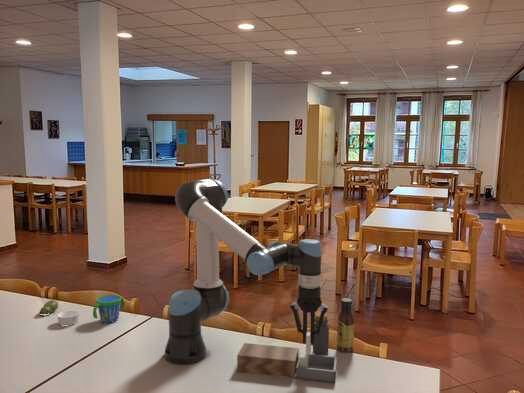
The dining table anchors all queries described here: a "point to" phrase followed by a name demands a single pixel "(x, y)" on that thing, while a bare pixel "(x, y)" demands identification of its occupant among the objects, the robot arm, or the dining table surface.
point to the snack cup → (108, 307)
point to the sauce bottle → (345, 327)
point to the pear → (49, 307)
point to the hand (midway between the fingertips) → (308, 352)
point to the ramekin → (68, 317)
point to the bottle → (321, 336)
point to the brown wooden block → (268, 360)
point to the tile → (304, 359)
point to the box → (318, 369)
